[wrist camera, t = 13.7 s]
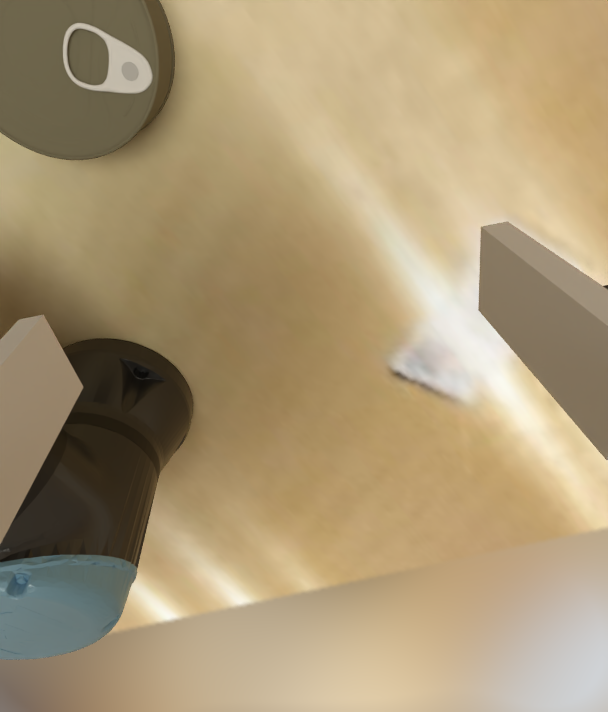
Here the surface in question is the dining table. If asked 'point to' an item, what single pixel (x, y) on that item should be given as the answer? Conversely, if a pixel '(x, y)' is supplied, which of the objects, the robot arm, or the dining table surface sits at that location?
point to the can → (82, 73)
